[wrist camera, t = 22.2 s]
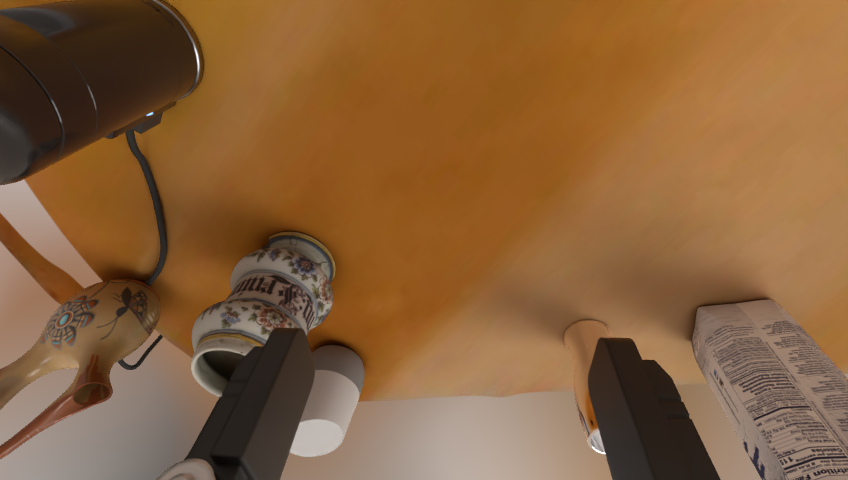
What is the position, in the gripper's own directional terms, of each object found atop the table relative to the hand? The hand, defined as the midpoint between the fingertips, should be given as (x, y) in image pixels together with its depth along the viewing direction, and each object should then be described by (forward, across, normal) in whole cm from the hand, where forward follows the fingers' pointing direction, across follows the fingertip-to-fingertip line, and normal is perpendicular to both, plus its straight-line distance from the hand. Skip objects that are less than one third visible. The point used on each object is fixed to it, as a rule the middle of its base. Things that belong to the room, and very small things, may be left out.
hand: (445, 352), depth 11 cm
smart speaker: (+33, +19, +42) cm, 57 cm away
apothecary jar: (+33, +21, +23) cm, 46 cm away
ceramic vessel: (+33, +46, +28) cm, 63 cm away
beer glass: (+33, -17, +35) cm, 52 cm away
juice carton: (+33, -35, +32) cm, 58 cm away
